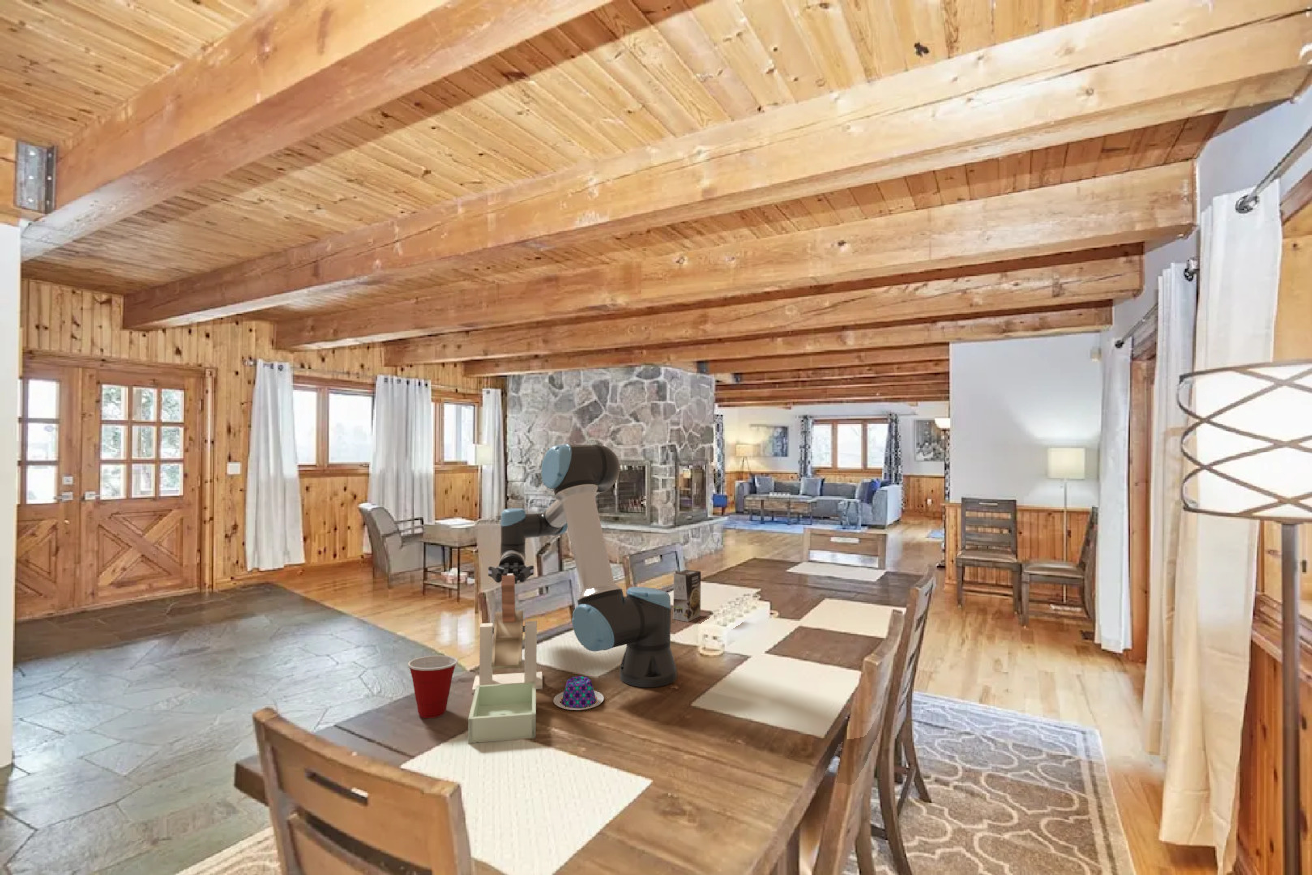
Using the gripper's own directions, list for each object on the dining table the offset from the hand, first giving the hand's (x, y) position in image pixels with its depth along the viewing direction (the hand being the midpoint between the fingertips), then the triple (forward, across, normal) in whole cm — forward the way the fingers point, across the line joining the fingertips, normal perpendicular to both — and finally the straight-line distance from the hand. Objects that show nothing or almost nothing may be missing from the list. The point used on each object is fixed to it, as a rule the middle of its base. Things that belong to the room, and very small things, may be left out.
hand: (509, 584), depth 162 cm
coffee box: (-47, -60, -25) cm, 80 cm away
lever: (+7, 0, -12) cm, 14 cm away
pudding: (+16, -17, -25) cm, 35 cm away
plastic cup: (+17, +16, -25) cm, 34 cm away
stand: (+4, 0, -25) cm, 25 cm away
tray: (+25, 0, -25) cm, 35 cm away
